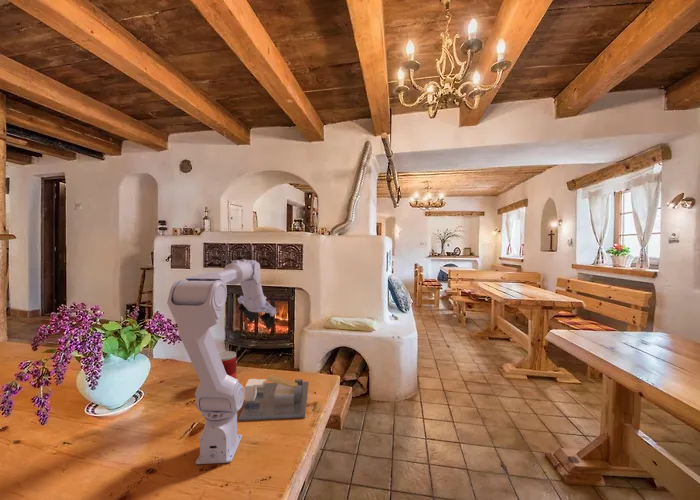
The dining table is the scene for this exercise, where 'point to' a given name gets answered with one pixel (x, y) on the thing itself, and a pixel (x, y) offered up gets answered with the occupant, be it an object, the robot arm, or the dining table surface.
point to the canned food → (229, 362)
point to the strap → (282, 381)
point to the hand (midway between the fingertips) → (261, 323)
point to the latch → (253, 388)
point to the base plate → (274, 409)
